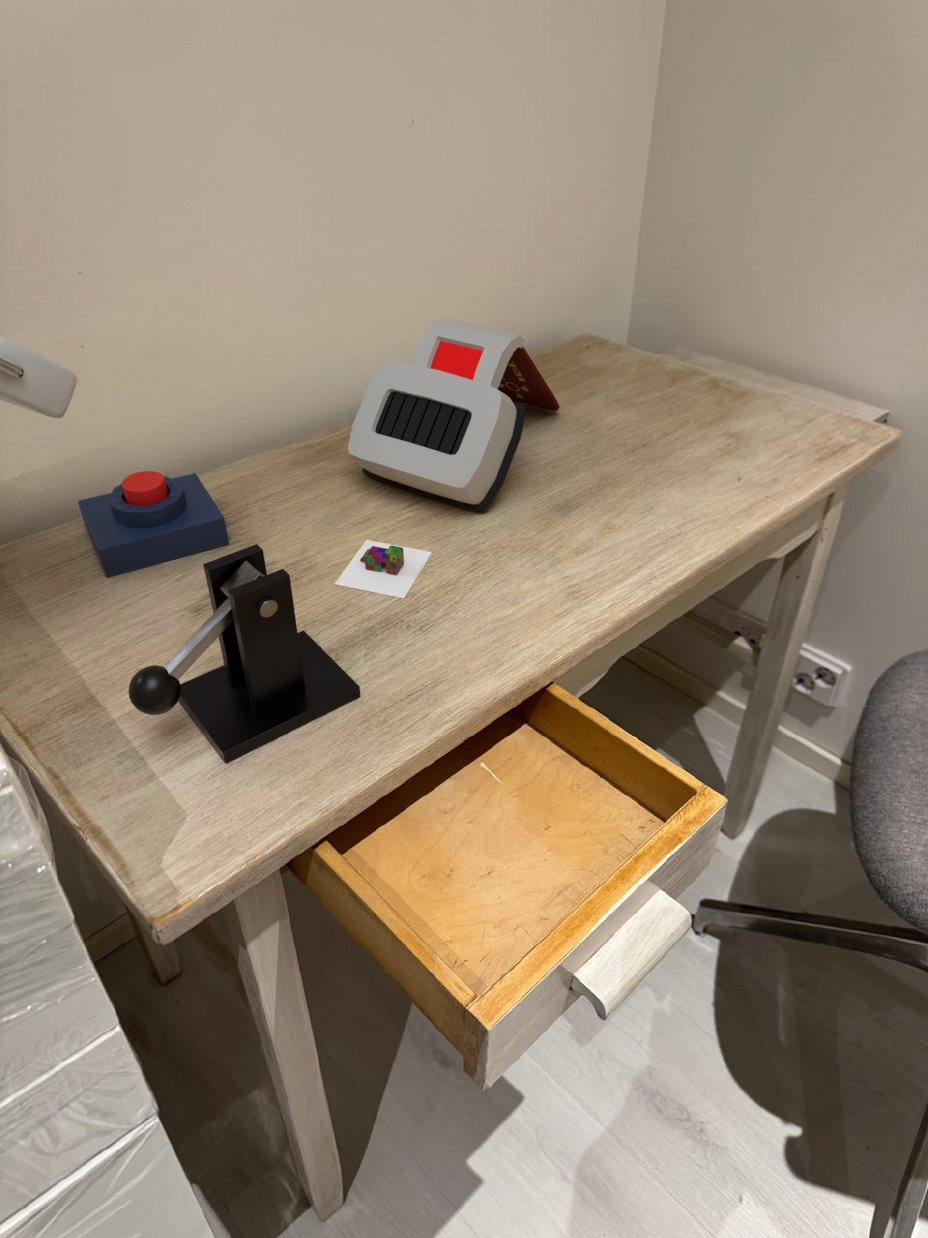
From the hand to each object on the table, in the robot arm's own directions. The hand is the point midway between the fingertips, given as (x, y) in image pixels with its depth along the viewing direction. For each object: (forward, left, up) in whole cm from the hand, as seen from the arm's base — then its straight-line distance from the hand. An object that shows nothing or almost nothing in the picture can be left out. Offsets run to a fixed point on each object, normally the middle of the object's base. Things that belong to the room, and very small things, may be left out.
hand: (31, 391), depth 72 cm
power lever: (+6, -23, -13) cm, 27 cm away
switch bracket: (+9, -22, -20) cm, 31 cm away
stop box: (+7, +6, -20) cm, 22 cm away
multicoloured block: (+25, -10, -20) cm, 34 cm away
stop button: (+7, +6, -15) cm, 18 cm away
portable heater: (+44, +6, -20) cm, 49 cm away
